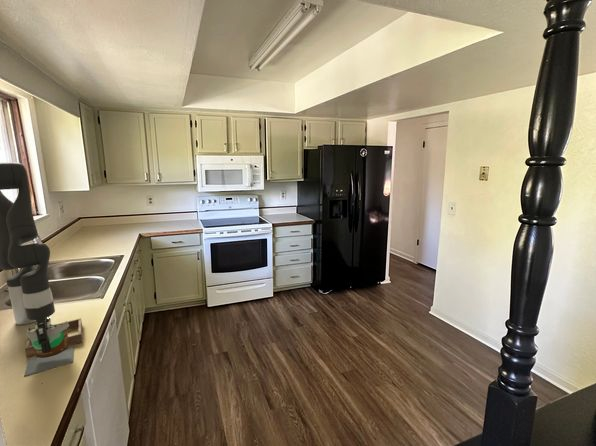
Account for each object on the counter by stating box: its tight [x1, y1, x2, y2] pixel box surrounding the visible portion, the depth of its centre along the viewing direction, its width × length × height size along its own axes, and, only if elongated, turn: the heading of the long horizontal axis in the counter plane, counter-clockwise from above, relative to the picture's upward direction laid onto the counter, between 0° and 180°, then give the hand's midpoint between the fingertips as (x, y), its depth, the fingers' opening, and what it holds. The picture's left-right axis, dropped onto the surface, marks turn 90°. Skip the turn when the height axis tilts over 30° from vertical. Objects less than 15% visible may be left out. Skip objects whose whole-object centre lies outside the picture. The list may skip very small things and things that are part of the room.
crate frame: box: [24, 318, 83, 358], centre depth 124 cm, size 15×17×4 cm
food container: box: [25, 321, 69, 358], centre depth 109 cm, size 12×6×10 cm, turn 106°
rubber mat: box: [23, 346, 74, 378], centre depth 111 cm, size 10×13×1 cm
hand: (47, 347), depth 110 cm, fingers closed on food container, 5 cm apart
